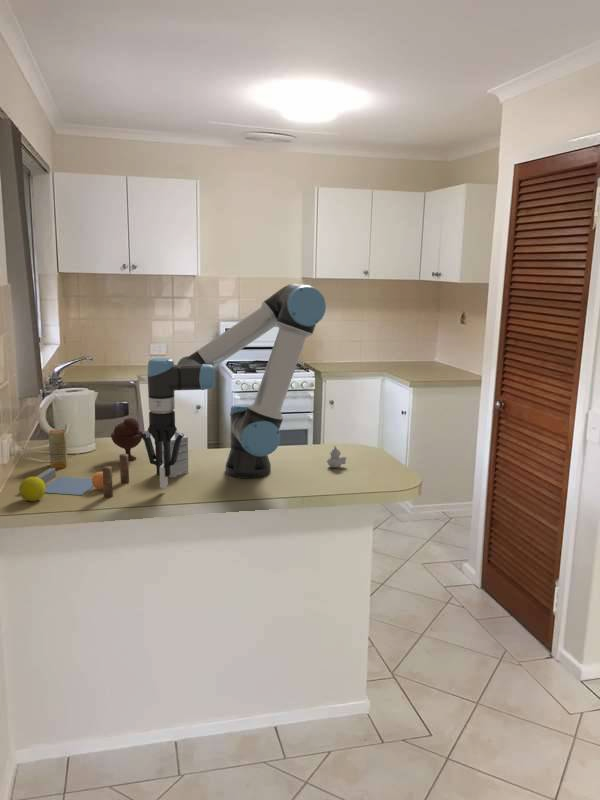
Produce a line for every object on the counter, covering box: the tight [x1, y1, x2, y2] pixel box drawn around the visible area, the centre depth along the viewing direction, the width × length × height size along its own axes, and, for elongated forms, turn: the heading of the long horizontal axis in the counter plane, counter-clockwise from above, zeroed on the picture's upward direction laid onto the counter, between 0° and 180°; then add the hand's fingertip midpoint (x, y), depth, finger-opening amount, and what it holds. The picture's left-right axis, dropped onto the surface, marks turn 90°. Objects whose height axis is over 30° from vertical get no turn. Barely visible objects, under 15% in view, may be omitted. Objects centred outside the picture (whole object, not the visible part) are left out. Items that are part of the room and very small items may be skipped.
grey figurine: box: [326, 445, 347, 469], centre depth 224 cm, size 5×7×8 cm
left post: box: [102, 465, 114, 499], centre depth 193 cm, size 3×3×9 cm
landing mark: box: [44, 476, 94, 496], centre depth 202 cm, size 14×14×1 cm
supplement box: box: [162, 434, 189, 478], centre depth 215 cm, size 7×7×13 cm
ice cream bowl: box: [110, 417, 144, 462], centre depth 228 cm, size 11×11×15 cm
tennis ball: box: [18, 476, 46, 502], centre depth 189 cm, size 7×7×7 cm
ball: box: [91, 471, 104, 491], centre depth 199 cm, size 6×6×6 cm
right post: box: [119, 453, 130, 485], centre depth 205 cm, size 3×3×9 cm
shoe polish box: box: [48, 429, 68, 469], centre depth 220 cm, size 5×5×12 cm
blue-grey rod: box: [35, 467, 57, 484], centre depth 203 cm, size 2×16×2 cm, turn 173°
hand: (163, 486), depth 198 cm, fingers closed
